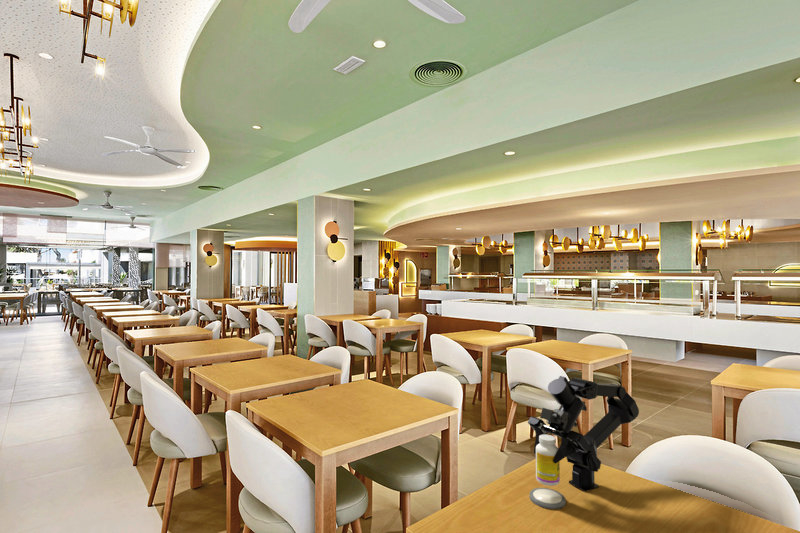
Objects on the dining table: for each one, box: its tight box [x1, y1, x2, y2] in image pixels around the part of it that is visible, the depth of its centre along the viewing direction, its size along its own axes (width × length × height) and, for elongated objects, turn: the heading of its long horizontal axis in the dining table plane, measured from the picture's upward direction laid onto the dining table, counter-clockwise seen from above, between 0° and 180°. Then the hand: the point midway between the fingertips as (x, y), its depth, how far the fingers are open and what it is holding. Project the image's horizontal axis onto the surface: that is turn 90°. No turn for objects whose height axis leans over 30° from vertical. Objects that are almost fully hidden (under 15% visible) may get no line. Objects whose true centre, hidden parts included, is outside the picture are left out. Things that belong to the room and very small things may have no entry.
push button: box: [529, 487, 567, 510], centre depth 122 cm, size 10×10×1 cm
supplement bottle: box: [535, 434, 561, 487], centre depth 122 cm, size 7×7×13 cm
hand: (544, 457), depth 122 cm, fingers closed on supplement bottle, 7 cm apart
